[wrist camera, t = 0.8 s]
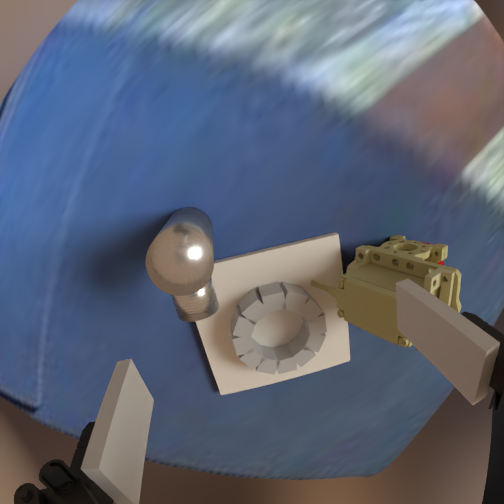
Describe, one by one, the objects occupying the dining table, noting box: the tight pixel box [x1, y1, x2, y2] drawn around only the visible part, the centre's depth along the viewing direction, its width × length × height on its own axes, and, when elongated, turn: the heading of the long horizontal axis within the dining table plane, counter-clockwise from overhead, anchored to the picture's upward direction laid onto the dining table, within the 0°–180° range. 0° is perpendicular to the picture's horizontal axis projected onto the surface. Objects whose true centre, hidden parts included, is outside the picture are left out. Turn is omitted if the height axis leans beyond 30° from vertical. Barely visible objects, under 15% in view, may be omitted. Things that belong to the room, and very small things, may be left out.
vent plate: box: [196, 232, 350, 395], centre depth 36 cm, size 18×18×4 cm
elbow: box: [146, 207, 219, 322], centre depth 29 cm, size 8×5×12 cm, turn 12°
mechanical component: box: [311, 235, 461, 351], centre depth 33 cm, size 8×17×20 cm, turn 96°
